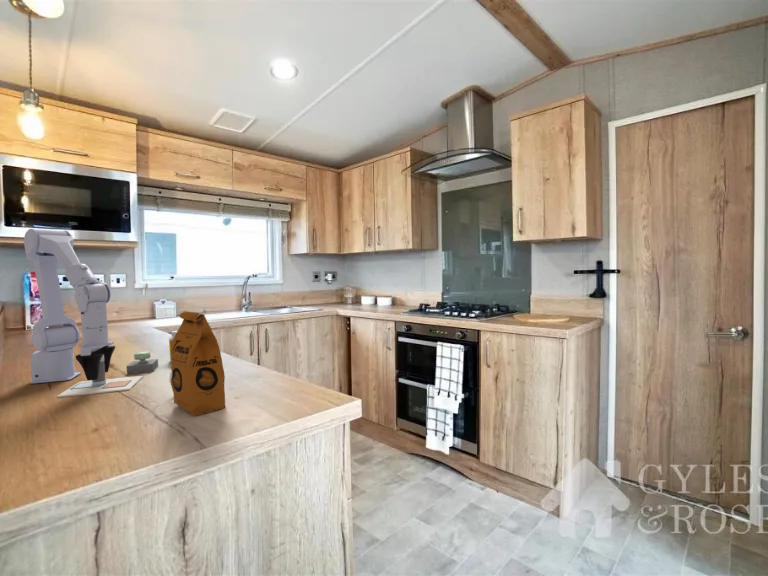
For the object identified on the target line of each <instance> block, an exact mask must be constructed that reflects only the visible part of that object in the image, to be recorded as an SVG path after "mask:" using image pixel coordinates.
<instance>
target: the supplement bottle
mask: <svg viewBox="0 0 768 576" xmlns="http://www.w3.org/2000/svg"><path fill="white" fill-rule="evenodd" d="M177 331H178V330H174V331H173V330H172V331H171V333H170V335H171V336H170V337H169V339H168V341H169V346H168V348H169V360H170V361H171V343H172V341H173V339H174V337H175V335H176V333H177Z"/></svg>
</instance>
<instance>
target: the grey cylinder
mask: <svg viewBox="0 0 768 576" xmlns="http://www.w3.org/2000/svg"><path fill="white" fill-rule="evenodd" d="M106 379H107V377H106V373H105V365H104V354H103V355H102V358H101V360H100V364H99V374H98V379H97V380H91V381H92V386H99V385H103V384H106Z"/></svg>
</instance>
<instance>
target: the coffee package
mask: <svg viewBox="0 0 768 576" xmlns="http://www.w3.org/2000/svg"><path fill="white" fill-rule="evenodd" d="M179 318H180V319H182V323H181V324H180V326H179V328H178V329H177V330H176V331H177V333H176V335H175V337H174V339H173V341H172V343H171V360H170V363H171V364H170V365H171V366H170V367H171V371H172V378H171V384H170V386H171V389H172V392H173V404H175V405H176V406H177V407H180V408H181V409H182V410H184V411H185V412H187V413H188V414H191V415H193V416H194V417H197V416H199V415H201V414H202V415H203V414H209V413H212V412H216V411H220V410H223V409H226V393H225V378H226V377H225V370H224V366H223V358H222V354H221V349H220V346H219V343H218V340H217V337H216V335H215V334H214V332H213V330H212V327H211V326H210V324H209V322H208V321H207V318H206V316H205V314H204V313H200V312H194V311H188V310H187V311H186V310H184V311H182V312H180V314H179Z"/></svg>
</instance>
